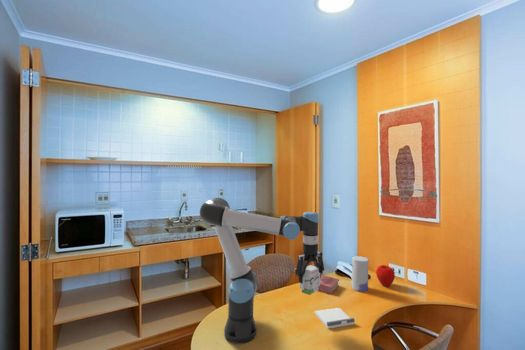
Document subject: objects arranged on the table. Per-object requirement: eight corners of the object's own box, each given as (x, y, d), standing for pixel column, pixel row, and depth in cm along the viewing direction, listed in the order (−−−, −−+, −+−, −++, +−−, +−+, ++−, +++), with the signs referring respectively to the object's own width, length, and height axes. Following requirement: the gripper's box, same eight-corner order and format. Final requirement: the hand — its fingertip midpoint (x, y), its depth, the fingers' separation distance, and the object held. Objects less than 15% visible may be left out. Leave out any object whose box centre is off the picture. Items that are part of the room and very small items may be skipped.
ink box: (309, 295, 129) (309, 271, 129) (301, 292, 133) (301, 268, 132) (319, 289, 135) (319, 267, 135) (310, 286, 139) (310, 264, 139)
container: (354, 283, 180) (355, 254, 180) (369, 287, 175) (370, 258, 174) (349, 289, 172) (350, 258, 172) (365, 293, 167) (366, 262, 166)
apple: (372, 281, 184) (372, 262, 184) (387, 281, 186) (388, 262, 185) (381, 289, 173) (382, 269, 172) (398, 289, 174) (399, 269, 173)
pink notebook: (309, 289, 172) (309, 281, 172) (318, 281, 185) (318, 274, 185) (331, 295, 164) (331, 287, 164) (339, 286, 177) (339, 279, 176)
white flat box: (328, 328, 129) (328, 323, 129) (314, 313, 142) (314, 308, 142) (354, 324, 133) (354, 319, 133) (338, 309, 147) (339, 304, 146)
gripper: (297, 248, 125) (296, 294, 125) (332, 242, 136) (331, 285, 136) (288, 244, 131) (287, 288, 132) (322, 238, 142) (321, 279, 143)
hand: (310, 286), depth 134 cm, fingers closed on ink box, 9 cm apart
